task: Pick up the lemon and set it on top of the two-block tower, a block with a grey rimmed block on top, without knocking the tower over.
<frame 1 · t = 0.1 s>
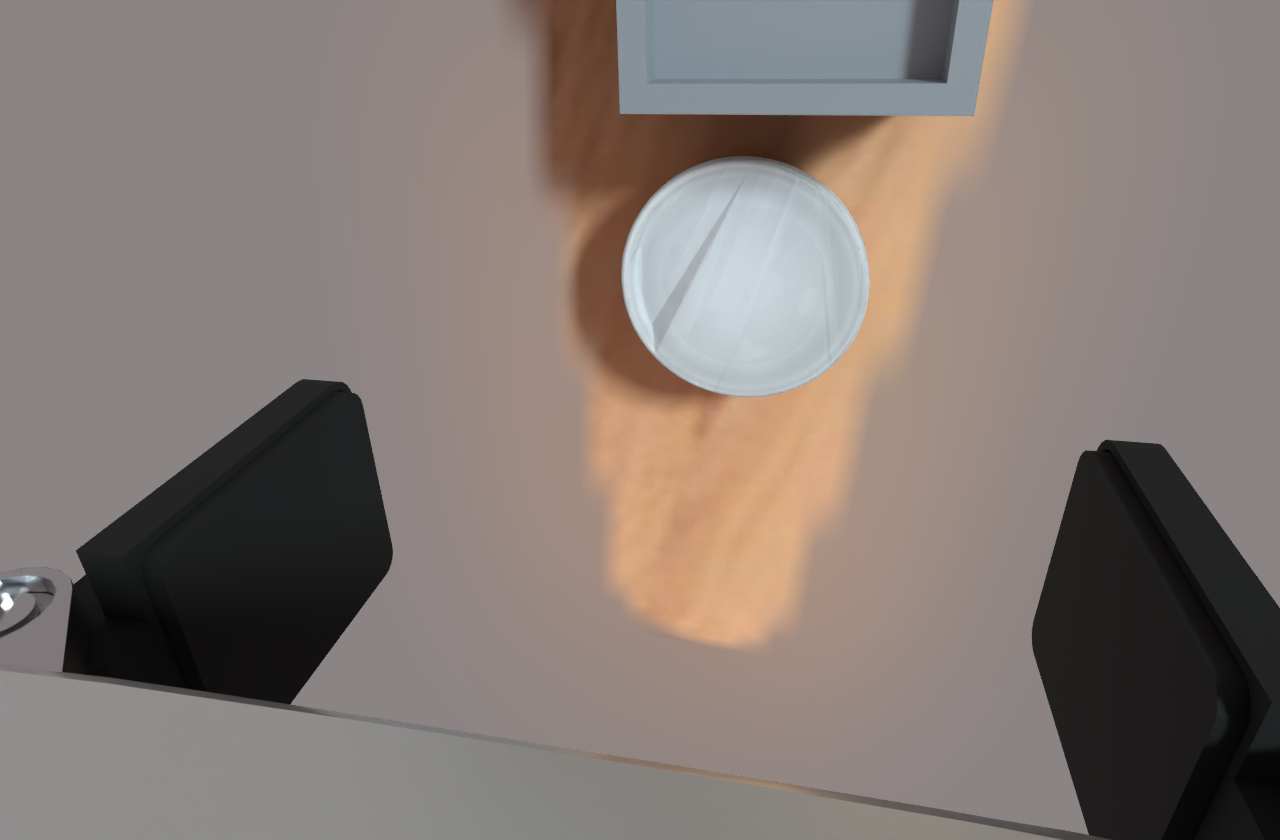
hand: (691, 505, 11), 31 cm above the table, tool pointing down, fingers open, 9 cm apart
ramekin: (750, 252, 41), on the table
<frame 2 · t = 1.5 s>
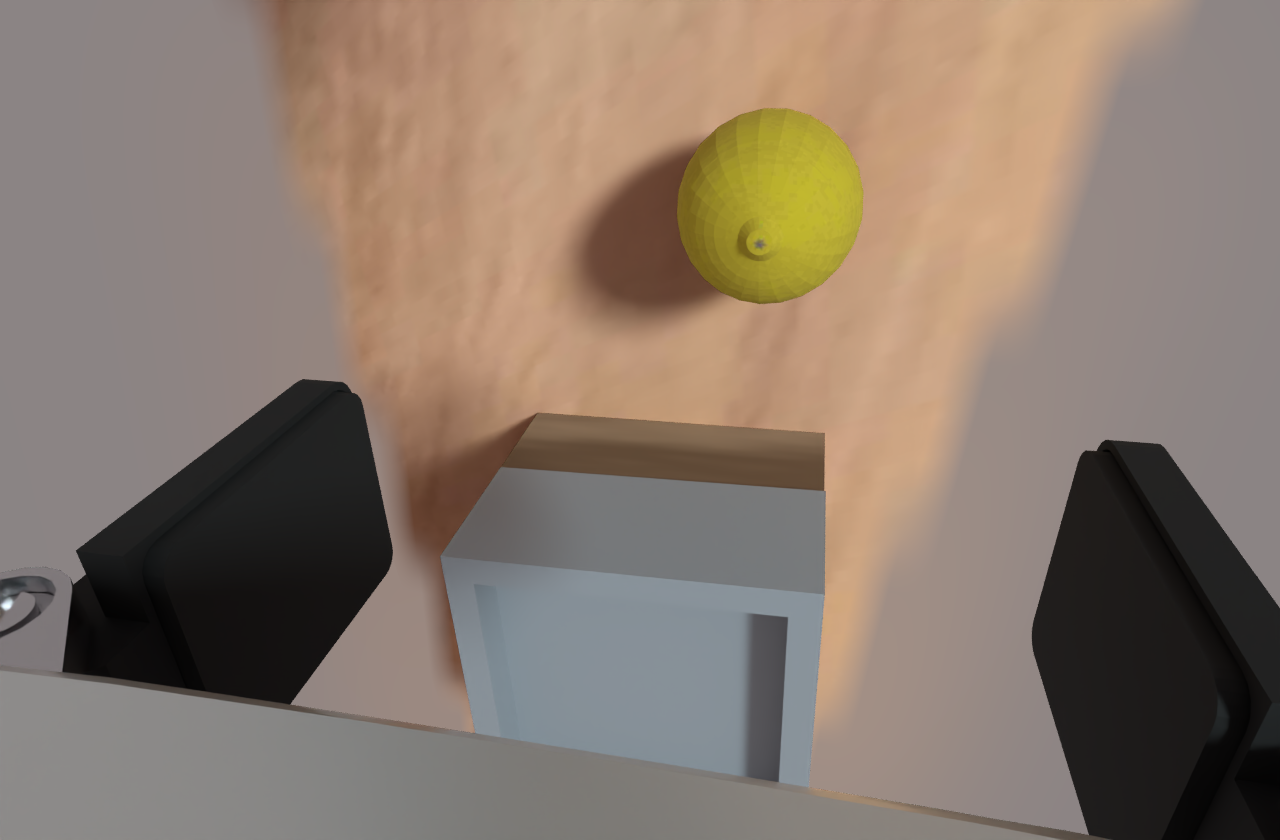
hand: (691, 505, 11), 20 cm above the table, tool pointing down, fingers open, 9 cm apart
tower bottom block: (678, 534, 36), on the table, touching tower top block
lemon: (776, 177, 28), on the table
tower top block: (661, 606, 32), point 5 cm above the table, touching tower bottom block
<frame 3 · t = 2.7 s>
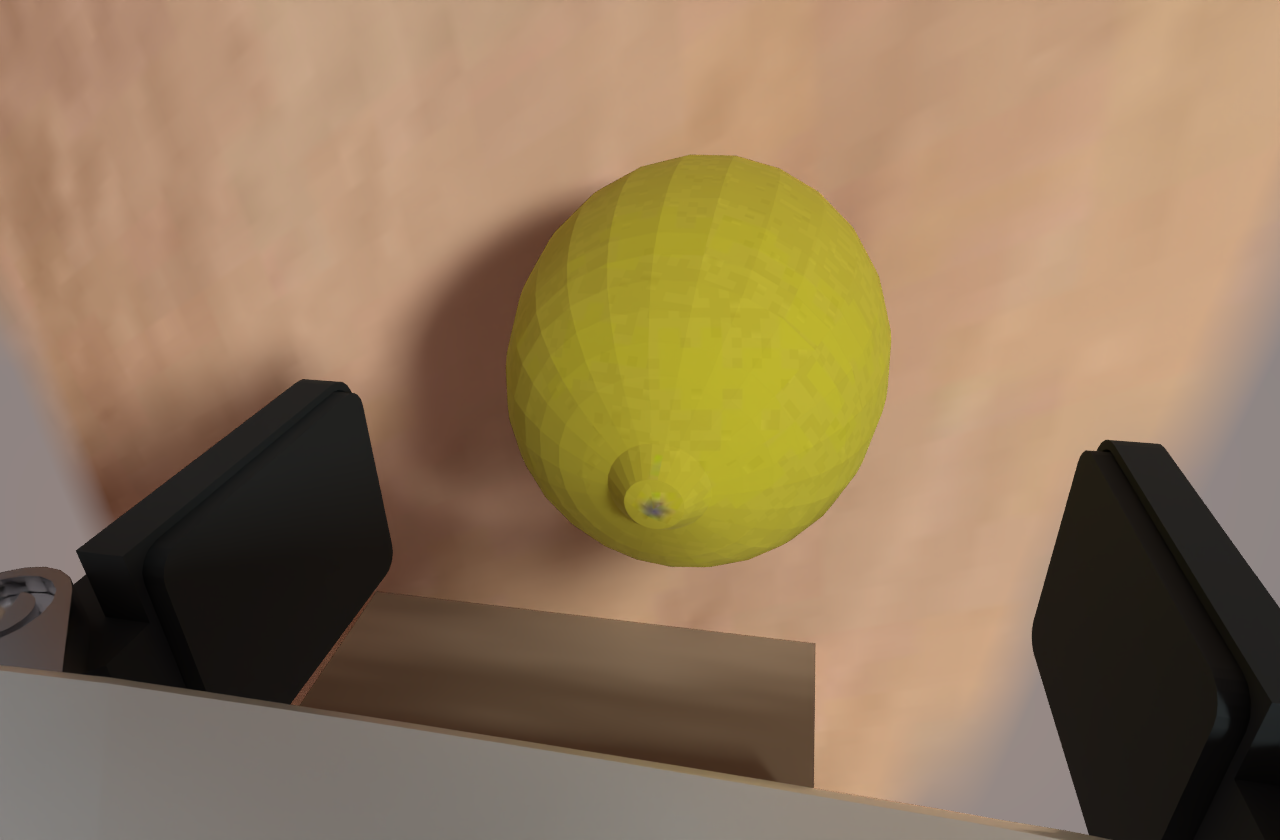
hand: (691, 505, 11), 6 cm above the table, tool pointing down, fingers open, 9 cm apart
tower bottom block: (600, 751, 25), on the table
lemon: (728, 257, 16), on the table
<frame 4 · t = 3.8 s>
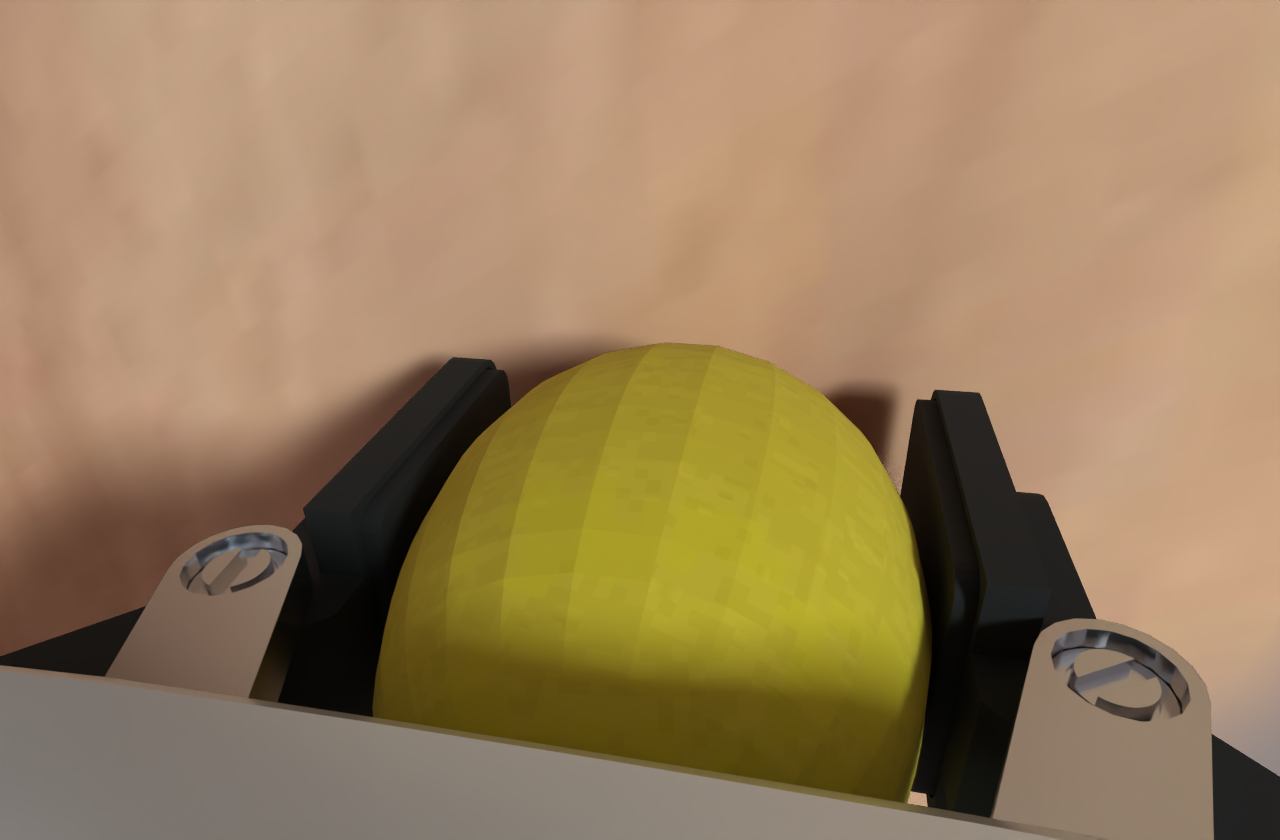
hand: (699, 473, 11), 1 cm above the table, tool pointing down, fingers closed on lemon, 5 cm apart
lemon: (712, 426, 12), on the table, touching gripper
when the fingers open (11 cm above the table, at t = 9.5 s): lemon stays where it is, resting on tower top block.
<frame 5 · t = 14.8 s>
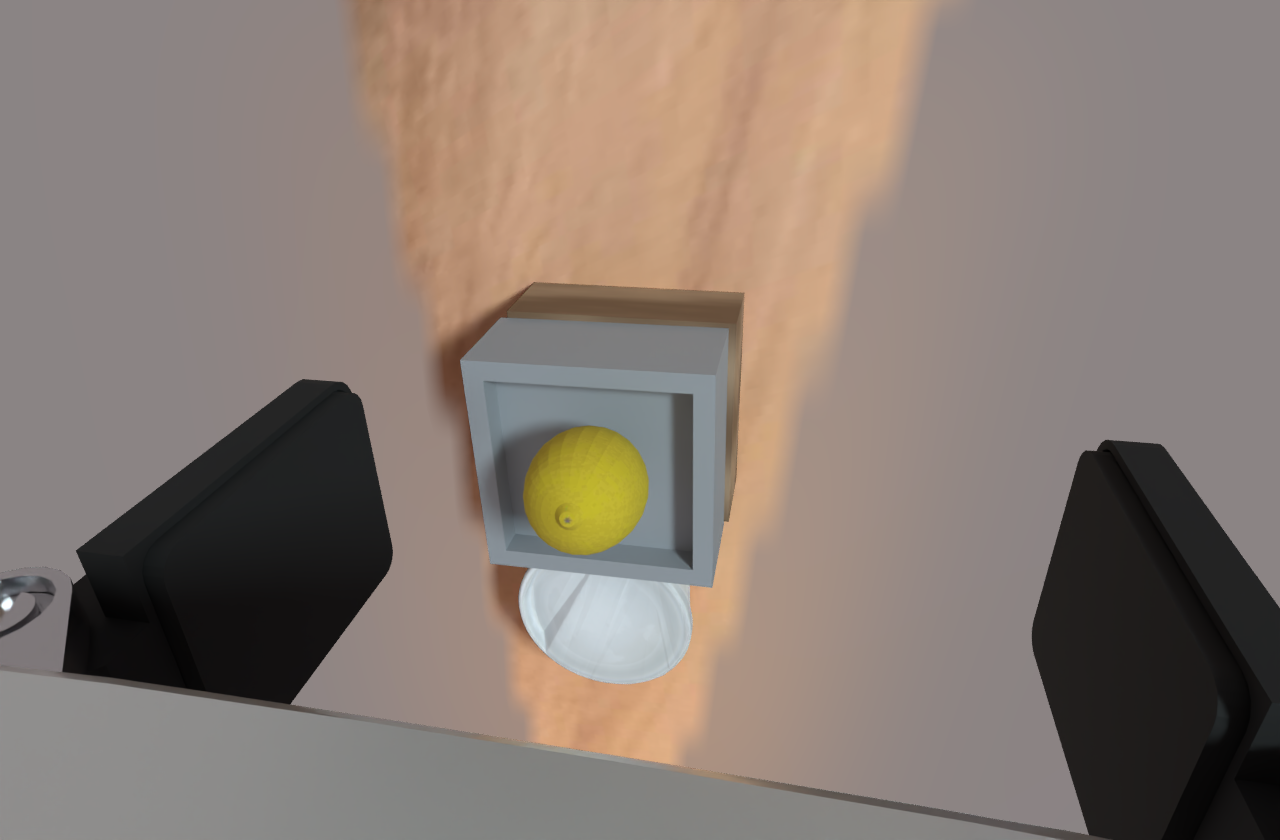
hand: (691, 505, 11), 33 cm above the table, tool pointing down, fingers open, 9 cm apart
tower bottom block: (640, 381, 48), on the table, touching tower top block
lemon: (604, 461, 40), point 9 cm above the table, touching tower top block
tower top block: (616, 425, 44), point 5 cm above the table, touching lemon, tower bottom block
ramekin: (621, 565, 55), on the table
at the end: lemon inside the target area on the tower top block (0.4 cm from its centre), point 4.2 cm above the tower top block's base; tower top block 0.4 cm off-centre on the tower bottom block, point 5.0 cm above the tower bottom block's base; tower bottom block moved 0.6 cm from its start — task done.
